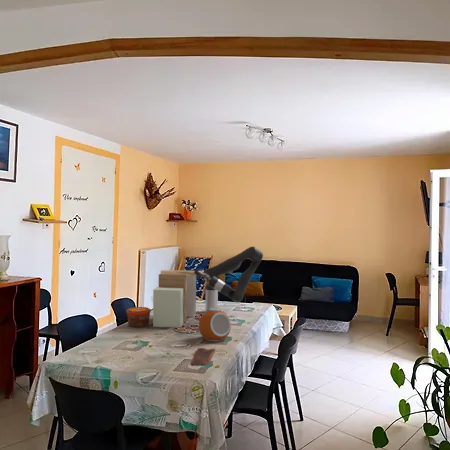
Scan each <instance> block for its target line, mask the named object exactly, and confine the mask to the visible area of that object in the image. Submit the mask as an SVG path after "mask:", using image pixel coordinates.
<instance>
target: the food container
mask: <svg viewBox="0 0 450 450" xmlns="http://www.w3.org/2000/svg"><path fill="white" fill-rule="evenodd" d="M125 312H126V316H127V322H128V324H127V325H128V327H130V328H134V329H138V328H139V329H140V328H145V327H148V326H149V325H150V323H149V322H150V316H151V312H152V310H151V308H150V307H147V306H146V307H145V306H143V307H142V306H136V307H129V308H127V309H126V311H125Z"/></svg>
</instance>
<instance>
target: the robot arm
mask: <svg viewBox="0 0 450 450" xmlns="http://www.w3.org/2000/svg"><path fill="white" fill-rule="evenodd" d="M263 256H264V253H263V251H262V250H261V249H259V248H257V247H256V246H250V247H248V248H246V249H245V250H242V251H241V252H240V253H238V254H235V255H234V256H232V257H230V258H227V259H226V260H224V261H222V262H221V263H219V264H217V265H214V266H212V267H209V268H206V269H204V271H202V273H200V272H198V271H200V270H199V269H195V270H194V271H195V272H194V273H195V274H197V275H196V276H198V278H200V280H203V281H204V282H208V283H207V284H206V285H205V302H204V303H205V312H207V311H209V310H210V309H211V308H218V307H219V304H218V303H219V299H218V297H219V293H221V294H222V295H224V296H226V297H227V298H228V299H230V300H231V301H233V302H234V303H240V302H241V301H243V298H244V297H245V293H246V291H247V289H248V286H249V283H250V281H251V279H252V277H253V275H254V274H255V272H256V270H257V268H258V267H259V265H260V263H261V262H262V261H263ZM246 260H250V261H251V263H250V265H249V267H248V268H247V269H246V270H244V271H243V272H242V273H241V275H240V277H239V279H238V281H237V284H236V286H235V287H236V288H235V289H233V288H232V286H231V285H229V284H227V283H226V282H224V281H223V280H222V279H220V276H222V275H225V274H228V273H231V272H234V271H237V270H238V269H239V268H240V267H241V265H242V262H244V261H246ZM218 292H219V293H218ZM205 312H204V313H205Z"/></svg>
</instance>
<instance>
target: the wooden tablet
mask: <svg viewBox="0 0 450 450" xmlns="http://www.w3.org/2000/svg"><path fill="white" fill-rule="evenodd" d="M215 352H216V349H215V348H208V349H207V348H204V347H198V348H197V349H196V351H195V352H194V354H193V356H192V360H191V361H190V366H196V367H205V366H208V365H209V364H210V363H211V361H212V358H213V356H214V354H215Z"/></svg>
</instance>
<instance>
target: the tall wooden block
mask: <svg viewBox="0 0 450 450" xmlns="http://www.w3.org/2000/svg"><path fill="white" fill-rule="evenodd" d="M158 287H159V288H183V324H186V323H187V322H188V321H189V317H186V299H187V275H161V273H159V274H158Z"/></svg>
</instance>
